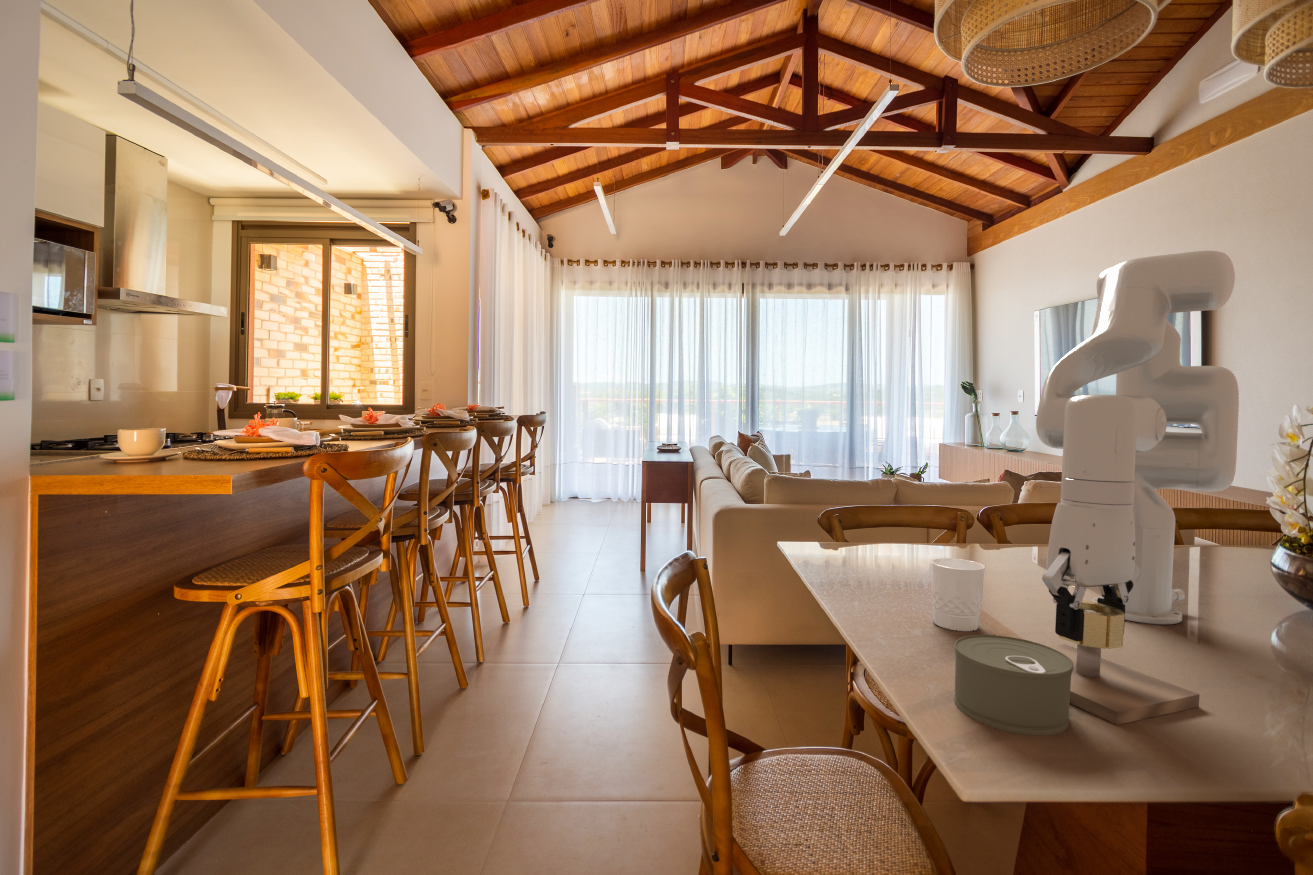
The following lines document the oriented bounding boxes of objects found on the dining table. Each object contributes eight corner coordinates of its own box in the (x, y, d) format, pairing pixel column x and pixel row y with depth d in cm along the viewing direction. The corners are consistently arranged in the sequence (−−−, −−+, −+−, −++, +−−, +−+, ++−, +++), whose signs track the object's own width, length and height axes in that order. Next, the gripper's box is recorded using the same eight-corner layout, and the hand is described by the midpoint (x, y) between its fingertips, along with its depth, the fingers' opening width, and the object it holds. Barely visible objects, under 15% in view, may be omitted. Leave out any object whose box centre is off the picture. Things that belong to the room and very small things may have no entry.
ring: (1082, 627, 86) (1083, 598, 86) (1134, 645, 80) (1135, 613, 79) (1046, 632, 84) (1047, 602, 83) (1096, 650, 77) (1098, 617, 77)
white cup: (989, 635, 100) (991, 571, 100) (934, 630, 102) (937, 567, 101) (974, 618, 108) (977, 559, 107) (924, 615, 109) (926, 556, 109)
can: (1031, 689, 81) (1034, 635, 80) (1096, 738, 69) (1099, 675, 68) (935, 687, 81) (937, 633, 81) (982, 735, 69) (985, 672, 69)
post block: (1064, 654, 92) (1067, 588, 92) (1198, 706, 76) (1203, 627, 76) (989, 666, 88) (992, 597, 87) (1116, 724, 72) (1120, 640, 71)
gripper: (1114, 488, 87) (1107, 619, 88) (1018, 491, 81) (1012, 631, 82) (1175, 495, 80) (1167, 637, 81) (1075, 499, 74) (1067, 652, 75)
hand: (1089, 633), depth 82 cm, fingers closed on ring, 6 cm apart
